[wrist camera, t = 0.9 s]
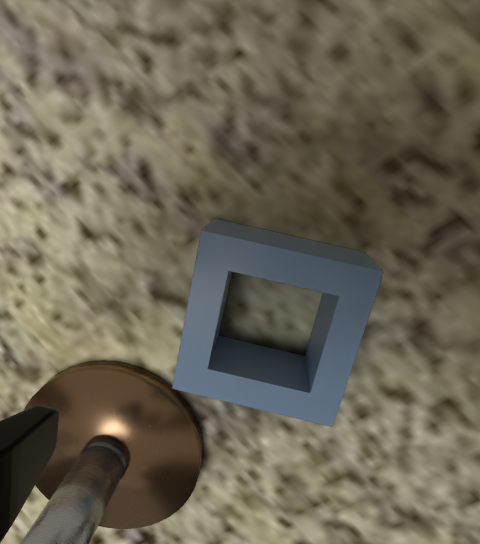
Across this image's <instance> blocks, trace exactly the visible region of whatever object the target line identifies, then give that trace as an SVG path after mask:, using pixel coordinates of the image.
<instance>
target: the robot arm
mask: <svg viewBox="0 0 480 544" xmlns="http://www.w3.org/2000/svg"><path fill="white" fill-rule="evenodd" d="M58 421H59V413H58V411H57V410H56V409H54V408H50V407H46V406H41V405H38V406H34V407H32V408H30V409H27V410H25V411H23V412H20V413H18V414H16V415H13V416H11V417H8V418H6V419H4V420H1V421H0V542H1V541H2V539H3V538H4V536H5V535H6V533H7V532H8V530H9V529H10V527H11V525H12V524H13V522H14V520H15V519H16V517H17V515H18V514H19V512H20V510H21V508H22V507H23V505H24V503H25V501H26V500H27V498H28V496H29V495H30V493H31V491H32V489H33V488H34V486H35V484H36V482H37V481H38V479H39V477H40V475H41V474H42V472H43V470H44V468H45V467H46V465H47V463H48V462H49V460H50V458H51V456H52V454H53V452H54V450H55V447H56V442H57V432H58Z"/></svg>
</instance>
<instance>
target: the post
mask: <svg viewBox="0 0 480 544" xmlns="http://www.w3.org/2000/svg"><path fill="white" fill-rule="evenodd" d="M38 405H41V406H46V407H50V408H54V409H56V410H57V411H58V413H59V421H58V432H57V442H56V447H55V450H54V452H53V454H52V456H51V458H50V460H49V462H48V463H47V465H46V467H45V468H44V470H43V472H42V474H41V475H40V477H39V479H38V481H37V482H36V484H35V485H36V487H37V488H38V489H39V490H40V492H41V493H42V494H43V495H44V496H45V497H46V498H47V499H48V500H49V502H48V503H47V505H46V506H45V508H44V509H43V511H42V512H41V514H40V515H39V517H38V518H37V520H36V521H35V523H34V524H33V526H32V527H31V529H30V530H29V531H28V533H27V534H26V536H25V537H24V539H23V540H22V542H21V543H20V544H89V543H90V541H91V539H92V537H93V535H94V533H95V531H96V529H97V527H98V526H102V527H107V528H116V529H132V528H140V527H145V526H149V525H152V524H155V523H158V522H160V521H162V520H164V519H166V518H168V517H170V516H171V515H172V514H174V513H175V512H176V511H178V510H179V509H180V508H181V507H182V506H183V505H184V504H185V503H186V501H187V500H188V498H189V497H190V496H191V494H192V492H193V490H194V488H195V485H196V482H197V478H198V475H199V471H200V467H201V463H202V456H203V440H202V434H201V430H200V427H199V424H198V421H197V419H196V417H195V415H194V413H193V411H192V410H191V408H190V407H189V405H188V403H187V402H186V401H185V400H184V399H183V397H182V396H181V395H180V394H179V393H178V392H177V391H176V390H175V389H172V386H171V385H169V384H168V383H167V382H165V381H164V380H162V379H161V378H159V377H158V376H156V375H154V374H152V373H151V372H149V371H146V370H144V369H142V368H139V367H136V366H133V365H130V364H126V363H120V362H115V361H92V362H86V363H81V364H78V365H75V366H72V367H69V368H67V369H65V370H63V371H61V372H60V373H58V374H57V375H55V376H54V377H53V378H51V379H50V380H49V381H48V382H47V383H46V384H45V385H44V386H43V387H42V388H41V389H40V390H39V391H38V392H37V393H36V394H35V395H34V396H33V397H32V398H31V400H30V401H29V402H28V404H27V405H26V407H25V409H24V411H25V410H27V409H30V408H32V407H34V406H38Z"/></svg>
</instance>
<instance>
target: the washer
mask: <svg viewBox="0 0 480 544" xmlns="http://www.w3.org/2000/svg"><path fill="white" fill-rule="evenodd" d="M232 272H236V273H240V274H245V275H249V276H253V277H258V278H262V279H267V280H271V281H275V282H280V283H284V284H288V285H293V286H297V287H301V288H306V289H310V290H315V291H319V292H323V294H322V298H321V301H320V305H319V308H318V312H317V315H316V319H315V322H314V326H313V329H312V333H311V336H310V340H309V343H308V347H307V350H306V353H305V356H303V355H299V354H294V353H290V352H286V351H281V350H277V349H273V348H269V347H264V346H260V345H256V344H252V343H247V342H243V341H239V340H235V339H230V338H226V337H222V336H219V332H220V327H221V322H222V318H223V313H224V308H225V304H226V299H227V294H228V290H229V285H230V280H231V276H232ZM382 275H383V270H382V269H381V268H380V267H379V266H378V265H377V264H376V263H375V262H374V261H373V260H372V259H371V258H370V257H369V256H368V255H367V254H366V253H365V252H361V251H357V250H352V249H348V248H343V247H339V246H335V245H330V244H326V243H321V242H317V241H312V240H308V239H304V238H299V237H295V236H290V235H286V234H281V233H277V232H273V231H268V230H264V229H259V228H255V227H250V226H246V225H242V224H237V223H233V222H228V221H224V220H219V219H215V218H214V219H213V220H212V221H211V222H210V223H209V224H208V225H207V226H206V227H205V228H203V229H202V230H201V235H200V240H199V246H198V251H197V257H196V262H195V267H194V273H193V278H192V284H191V289H190V294H189V300H188V305H187V311H186V316H185V321H184V327H183V332H182V338H181V343H180V348H179V354H178V359H177V365H176V370H175V375H174V381H173V386H172V389H176V390H180V391H184V392H188V393H193V394H197V395H201V396H205V397H209V398H214V399H218V400H222V401H226V402H230V403H234V404H239V405H243V406H247V407H251V408H255V409H260V410H264V411H268V412H272V413H276V414H281V415H285V416H289V417H293V418H297V419H301V420H306V421H310V422H314V423H318V424H322V425H327V426H331V427H333V424H334V421H335V418H336V415H337V412H338V409H339V406H340V403H341V400H342V397H343V394H344V391H345V388H346V385H347V382H348V379H349V376H350V373H351V370H352V367H353V363H354V360H355V357H356V354H357V351H358V348H359V345H360V342H361V339H362V336H363V333H364V330H365V327H366V324H367V321H368V318H369V315H370V312H371V309H372V306H373V303H374V300H375V297H376V294H377V291H378V288H379V285H380V282H381V278H382Z"/></svg>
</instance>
